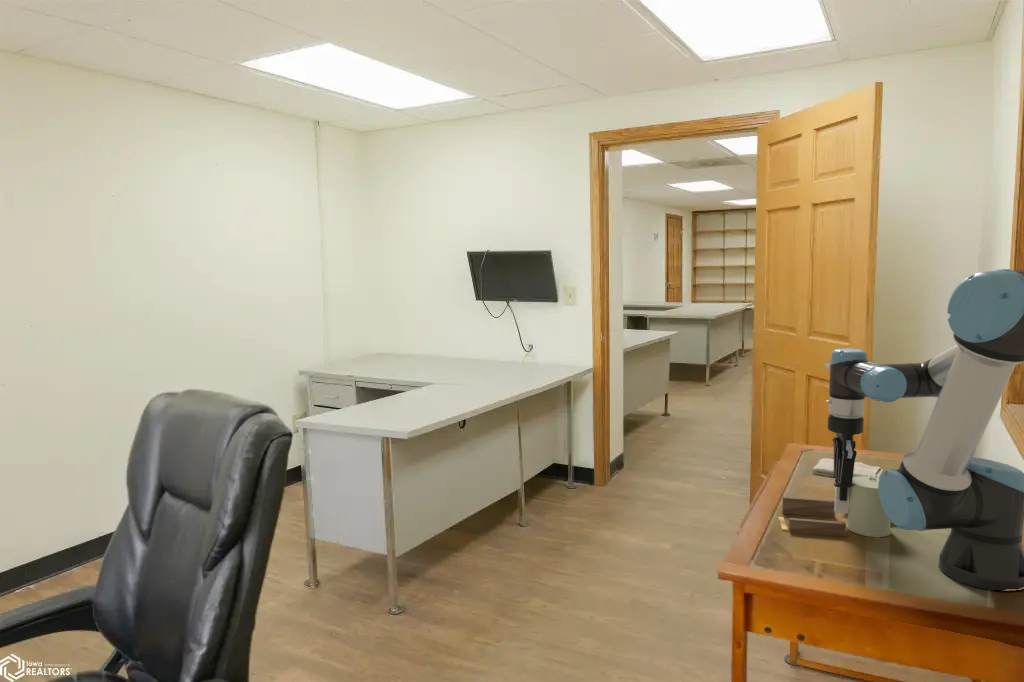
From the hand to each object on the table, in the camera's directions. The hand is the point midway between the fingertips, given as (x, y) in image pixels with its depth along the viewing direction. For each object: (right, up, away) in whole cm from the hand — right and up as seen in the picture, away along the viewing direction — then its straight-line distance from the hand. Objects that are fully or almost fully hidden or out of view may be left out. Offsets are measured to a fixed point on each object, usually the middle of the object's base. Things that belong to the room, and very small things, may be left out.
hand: (840, 512), depth 163 cm
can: (+5, -4, -2) cm, 7 cm away
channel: (-6, -3, +2) cm, 7 cm away
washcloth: (+21, +1, +40) cm, 45 cm away
